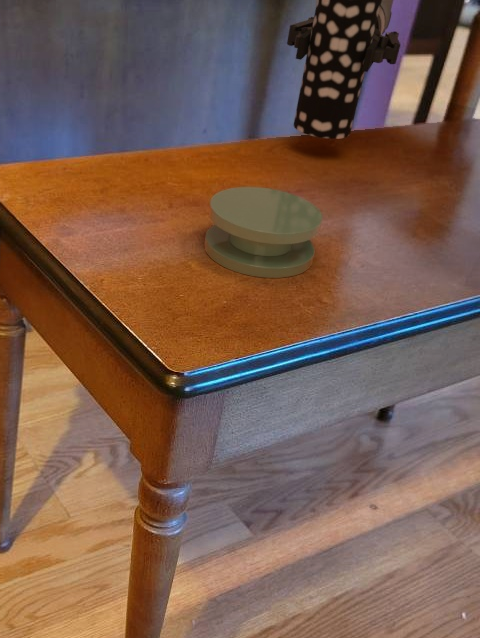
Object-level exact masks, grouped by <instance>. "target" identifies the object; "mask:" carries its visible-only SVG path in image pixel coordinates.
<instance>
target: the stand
mask: <svg viewBox="0 0 480 638" xmlns="http://www.w3.org/2000/svg"><path fill="white" fill-rule="evenodd" d="M208 217H209V219H210V220H211V222H212V223H213V225H211V226H209V228H208V229H207V230H206V232H205V236H204V244H203V245H204V251H205V253H206V255H207V256H208V257H209V258H210V260H212V261H214V262H215V263H216V264H218V265H219V266H222V267H223V268H226V269H228V270H230V271H232V272H236V273H239V274H241V275H245V276H246V275H247V276H251V277H256V278H263V279H265V278H266V279H283V278H290V277H294V276H298V275H300V274H303V273H306V272H307V271H308V270H309V269H310V268H311V266H312V264H313V262H314V258H315V254H316V253H315V252H316V250H315V246H314V243H313V242H312V241H311V240H312V239H314V238H315V237H317V236H318V234H319V233H320V232H321V228H322V224H323V219H324V218H323V213H322V212H321V210H320V209H319V208H318V207H317V206H316V205H315V204H313V203H312V202H310V201H308V200H306V199H305V198H303V197H301V196H298V195H295V194H293V193H290V192H287V191H282V190H279V189H274V188H267V187H259V186H238V187H231V188H227V189H223V190H220V191H218V192H216V193H214V195H213V196H212V197H211V198H210V200H209V206H208Z"/></svg>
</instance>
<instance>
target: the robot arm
mask: <svg viewBox="0 0 480 638" xmlns="http://www.w3.org/2000/svg"><path fill="white" fill-rule="evenodd" d="M393 3H394V0H382V2H381V6H380V10H379V15H378V19H377V23H376V27H375V31H374V36H373V40H372V43H371V44H370V45H369V47H368V48H367V51H366V55H365V59H364V64H363V68H362V71H365V73H367V72H369V70H370V68H371V67H372V65H373V64H374V63H376V64H381V63H384V62H383V61H384V60H386V62H387V64H389V65H396V63H397V60H398V57H399V52H400V49H401V42H400V40H399V35H400V33H399V32H397V31H390V32H387V31H386V30H387V29H388V28H389V26H390V22H391V18H392V15H393V14H392V13H393V12H392V7H393ZM313 20H314V16H310V17H308V18H307V19H306V20H303V21H299V22H296V23H293V24H290V25H289V29H288V35H287V39H286V45H287V46H289V47H294V48H295V49H296V54H295V59H296V60H299V61H300V60H303V58H305V57H306V56H307V52H308V47H309V41H310V36H311V31H312V26H313Z"/></svg>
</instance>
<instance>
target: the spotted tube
mask: <svg viewBox="0 0 480 638" xmlns="http://www.w3.org/2000/svg"><path fill="white" fill-rule="evenodd" d="M381 2H382V0H316V5H315V10H314V16H313V17H314V20H313V26H312V31H311V36H310V41H309V47H308V52H307V54H306V56H305V64H304V68H303V72H302V79H301V84H300V88H299V94H298V98H297V99H298V100H297V105H296V111H295V115H294V121H293V128H294V129H295V130H296V131H298V132H300V133H302V134H305V135H308V136H312V137H315V138H321V139H328V140H330V139H331V140H337V139H338V140H339V139H345V138H348V137H349V136H350V135H351V132H352V127H353V124H354V119H355V115H356V111H357V107H358V103H359V98H360V94H361V89H362V86H363V82H364V78H365V74H366V72H365V71H362V68H363V64H364V59H365V55H366V51H367V48H368V47H369V45H370V44H371V43H372V40H373V36H374V31H375V27H376V23H377V19H378V15H379V10H380V6H381Z"/></svg>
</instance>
